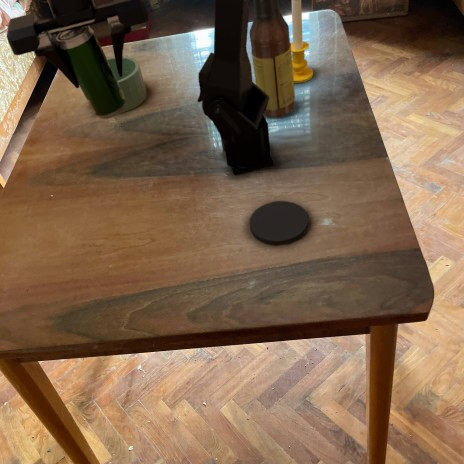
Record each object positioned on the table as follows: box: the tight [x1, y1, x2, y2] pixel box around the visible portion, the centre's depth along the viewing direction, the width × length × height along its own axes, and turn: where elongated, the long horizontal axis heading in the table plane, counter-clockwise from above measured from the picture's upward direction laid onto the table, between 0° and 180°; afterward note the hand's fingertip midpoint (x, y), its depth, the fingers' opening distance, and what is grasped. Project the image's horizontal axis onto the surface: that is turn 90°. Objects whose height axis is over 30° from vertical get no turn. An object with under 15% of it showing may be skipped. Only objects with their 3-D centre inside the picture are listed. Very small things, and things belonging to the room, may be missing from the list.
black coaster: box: [249, 200, 310, 246], centre depth 71 cm, size 8×8×1 cm
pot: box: [106, 55, 148, 114], centre depth 96 cm, size 11×11×6 cm
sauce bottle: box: [249, 0, 296, 118], centre depth 81 cm, size 7×6×20 cm
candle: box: [290, 0, 314, 84], centre depth 89 cm, size 5×5×16 cm
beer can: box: [56, 25, 126, 120], centre depth 76 cm, size 5×5×12 cm
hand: (99, 81), depth 77 cm, fingers closed on beer can, 6 cm apart
